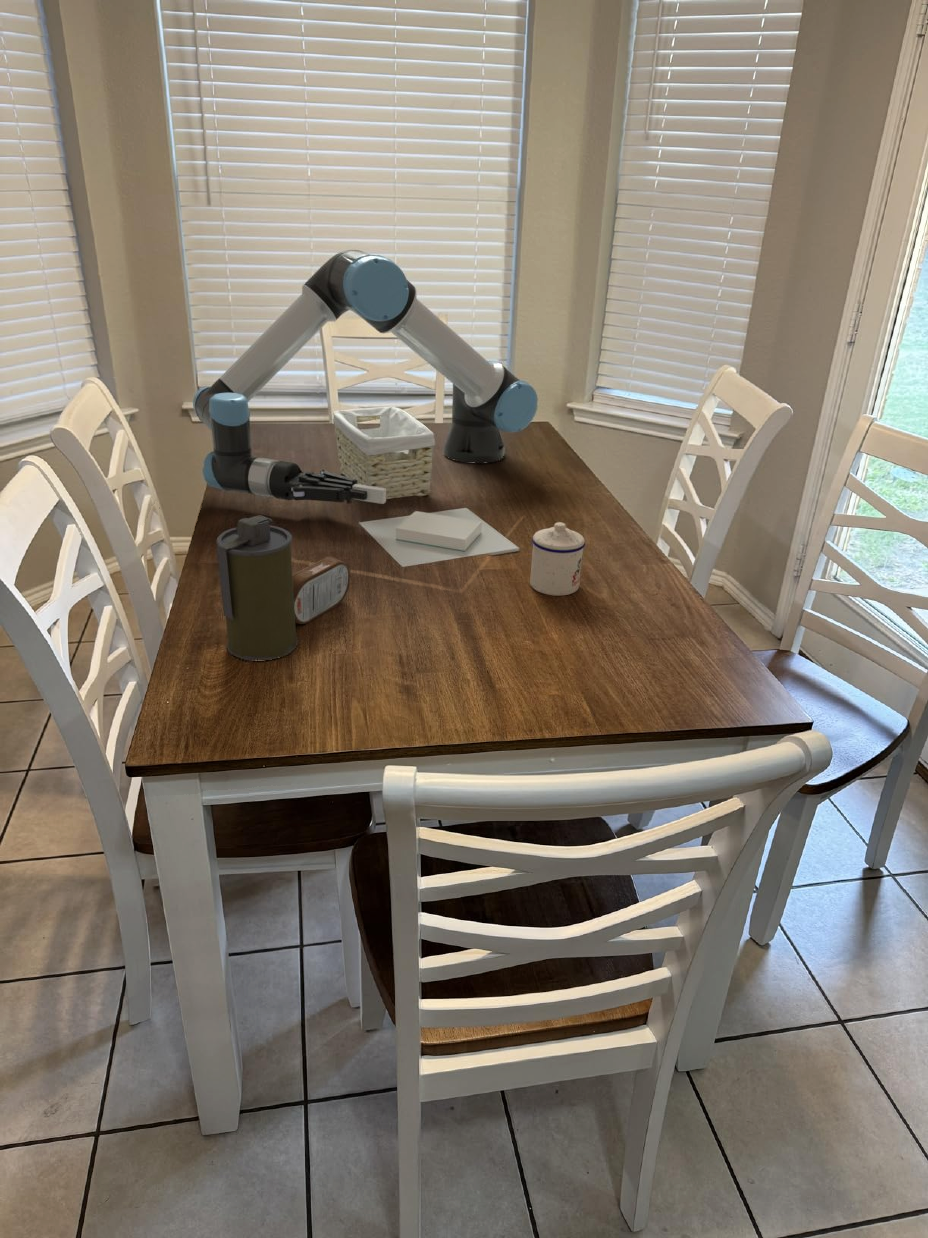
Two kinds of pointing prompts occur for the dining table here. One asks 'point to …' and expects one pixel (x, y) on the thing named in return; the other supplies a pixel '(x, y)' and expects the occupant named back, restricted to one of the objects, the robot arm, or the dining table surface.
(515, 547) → the mat
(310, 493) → the robot arm
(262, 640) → the canister
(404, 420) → the storage basket
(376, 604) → the dining table surface
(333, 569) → the tin
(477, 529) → the tile
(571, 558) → the teacup with lid
